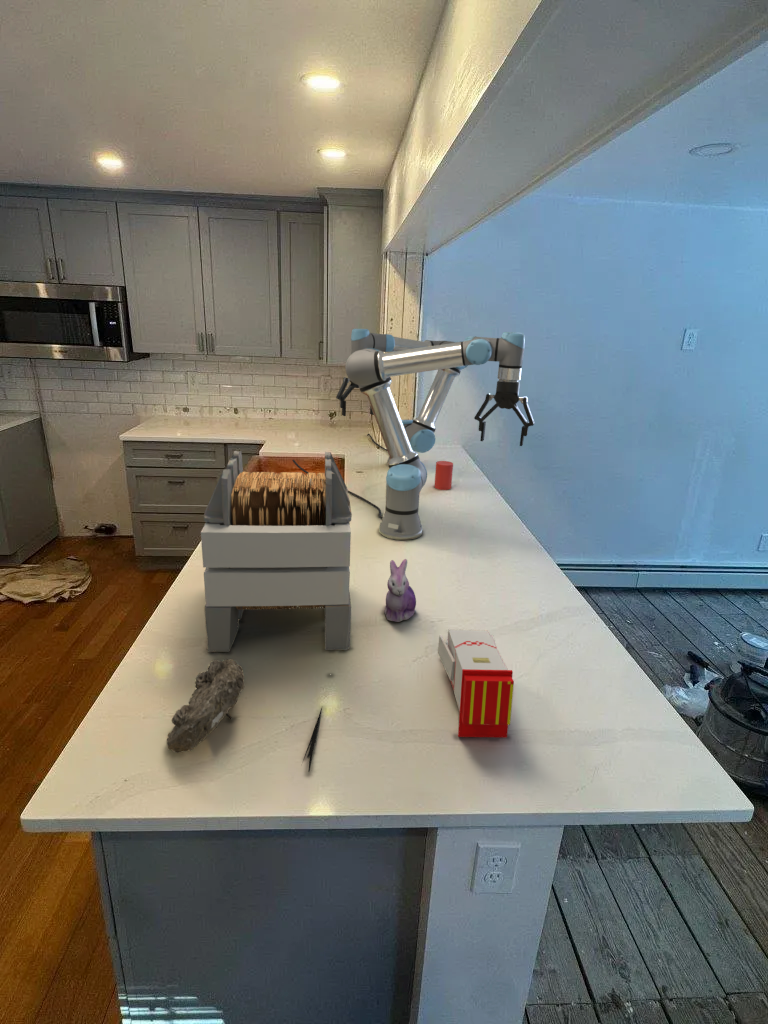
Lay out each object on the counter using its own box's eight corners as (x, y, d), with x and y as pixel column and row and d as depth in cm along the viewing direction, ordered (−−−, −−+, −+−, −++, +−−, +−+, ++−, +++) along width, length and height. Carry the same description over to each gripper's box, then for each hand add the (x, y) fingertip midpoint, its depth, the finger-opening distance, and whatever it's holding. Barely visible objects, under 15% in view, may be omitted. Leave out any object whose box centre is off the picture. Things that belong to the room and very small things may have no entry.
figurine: (392, 627, 141) (395, 572, 136) (374, 608, 149) (376, 556, 144) (425, 619, 145) (429, 566, 140) (405, 601, 154) (408, 550, 149)
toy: (488, 613, 130) (523, 677, 101) (484, 667, 133) (517, 744, 104) (435, 612, 130) (455, 676, 101) (432, 666, 133) (451, 743, 103)
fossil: (192, 660, 117) (244, 628, 112) (224, 691, 120) (276, 661, 115) (142, 746, 98) (202, 712, 93) (182, 779, 101) (242, 748, 96)
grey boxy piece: (227, 584, 158) (219, 441, 145) (344, 583, 162) (347, 443, 148) (205, 654, 127) (191, 480, 113) (351, 650, 130) (355, 481, 117)
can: (434, 489, 251) (436, 464, 247) (433, 484, 258) (435, 460, 254) (451, 490, 251) (454, 465, 247) (450, 485, 258) (452, 461, 254)
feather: (331, 679, 122) (336, 673, 122) (307, 777, 96) (313, 769, 95) (324, 675, 122) (329, 669, 121) (298, 772, 95) (304, 764, 95)
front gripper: (548, 382, 189) (539, 445, 196) (474, 376, 197) (468, 436, 204) (545, 385, 182) (536, 449, 190) (469, 378, 191) (463, 440, 198)
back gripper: (335, 367, 237) (334, 417, 244) (389, 366, 248) (386, 415, 255) (329, 365, 243) (328, 414, 251) (381, 365, 254) (379, 412, 261)
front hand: (501, 443), depth 197 cm, fingers open, 13 cm apart
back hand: (358, 415), depth 253 cm, fingers open, 13 cm apart
